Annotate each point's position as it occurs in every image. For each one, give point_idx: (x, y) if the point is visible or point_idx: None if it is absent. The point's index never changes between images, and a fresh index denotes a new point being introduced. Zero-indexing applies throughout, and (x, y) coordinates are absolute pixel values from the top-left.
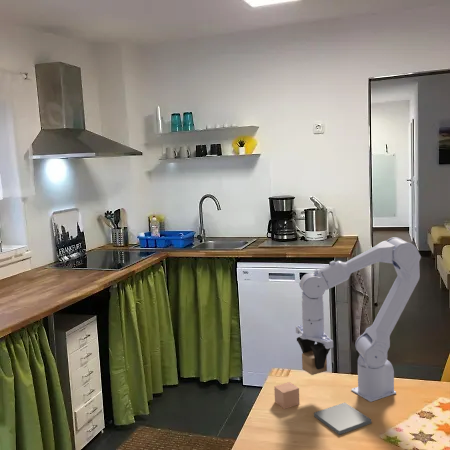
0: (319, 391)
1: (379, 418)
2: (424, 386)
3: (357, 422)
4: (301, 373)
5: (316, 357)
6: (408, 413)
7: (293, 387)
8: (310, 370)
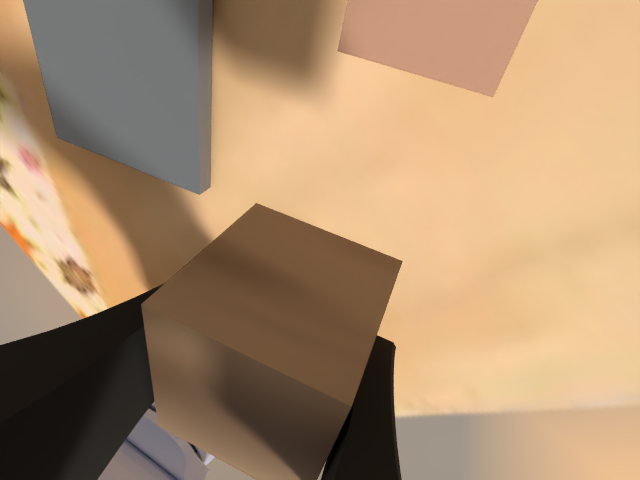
0: (387, 246)
1: (97, 185)
2: None
3: (49, 73)
4: (610, 376)
5: (70, 327)
6: (93, 260)
7: (386, 24)
8: (256, 228)
